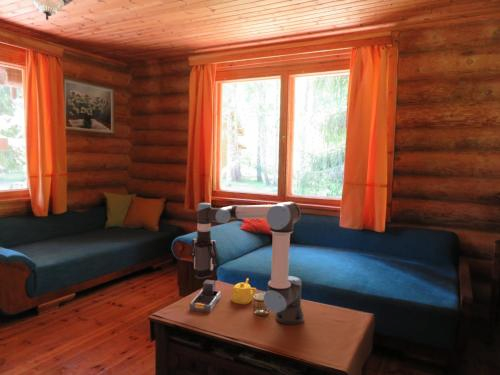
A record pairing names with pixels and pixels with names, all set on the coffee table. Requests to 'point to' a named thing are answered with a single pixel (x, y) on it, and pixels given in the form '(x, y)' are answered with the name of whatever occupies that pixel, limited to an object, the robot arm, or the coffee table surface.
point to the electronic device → (202, 260)
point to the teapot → (242, 293)
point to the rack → (206, 298)
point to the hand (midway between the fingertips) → (203, 268)
